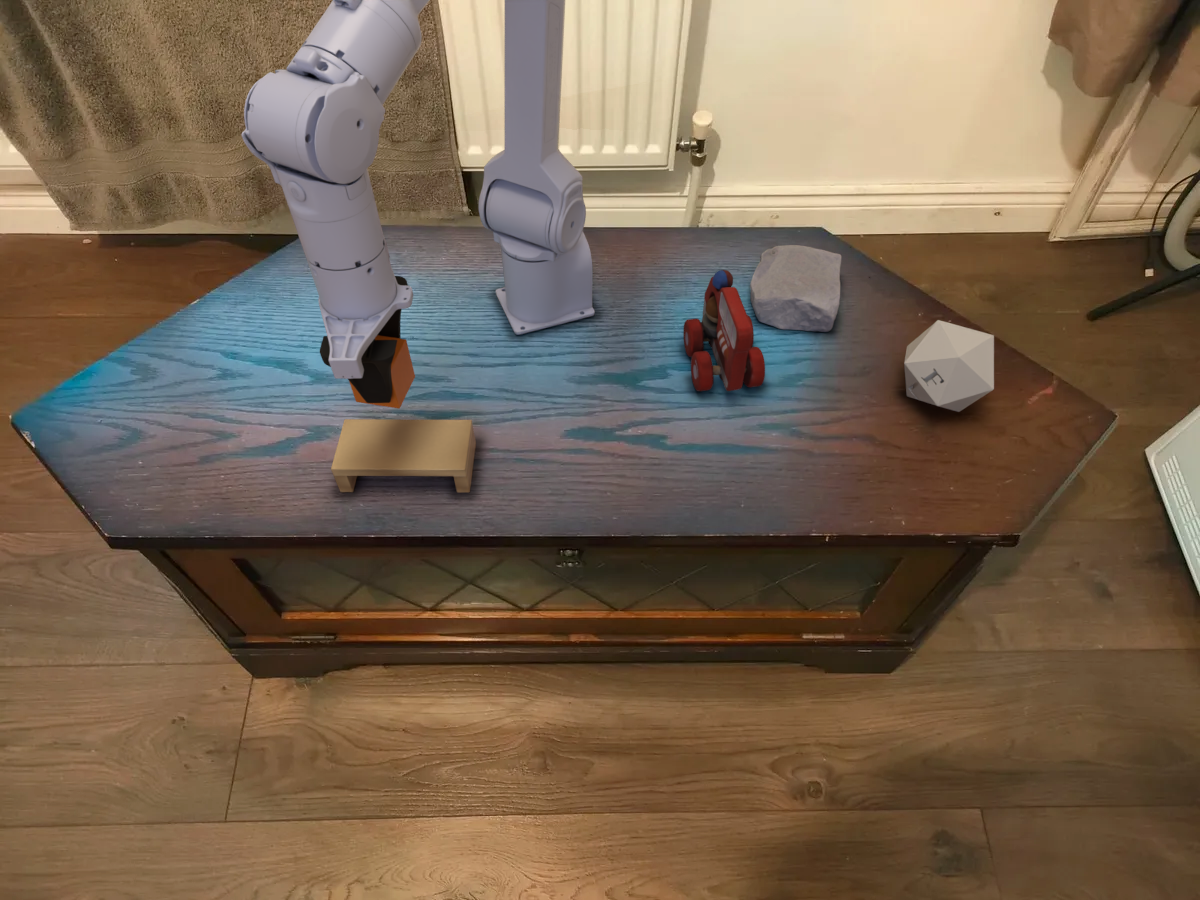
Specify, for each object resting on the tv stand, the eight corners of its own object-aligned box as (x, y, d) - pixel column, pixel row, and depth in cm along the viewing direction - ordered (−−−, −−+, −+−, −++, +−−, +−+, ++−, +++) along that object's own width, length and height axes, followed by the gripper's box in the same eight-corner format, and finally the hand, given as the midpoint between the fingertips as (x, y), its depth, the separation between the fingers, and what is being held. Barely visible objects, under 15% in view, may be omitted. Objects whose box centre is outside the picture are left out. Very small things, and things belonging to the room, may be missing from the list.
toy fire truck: (738, 324, 87) (753, 246, 79) (765, 404, 79) (785, 328, 71) (677, 328, 87) (686, 250, 79) (698, 409, 79) (711, 333, 71)
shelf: (476, 443, 76) (472, 419, 73) (469, 492, 72) (465, 469, 69) (353, 442, 76) (344, 418, 73) (340, 492, 72) (330, 469, 69)
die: (878, 368, 84) (889, 349, 74) (951, 318, 83) (972, 293, 73) (927, 432, 82) (946, 421, 73) (1002, 382, 81) (1031, 365, 71)
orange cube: (373, 370, 69) (361, 332, 66) (415, 376, 69) (406, 338, 65) (355, 402, 67) (342, 364, 63) (399, 409, 66) (389, 371, 63)
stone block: (748, 336, 88) (839, 335, 86) (746, 302, 85) (841, 300, 82) (756, 275, 96) (840, 273, 93) (754, 242, 93) (841, 238, 90)
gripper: (386, 311, 52) (420, 442, 62) (412, 190, 61) (438, 321, 71) (279, 312, 52) (331, 443, 62) (322, 190, 61) (361, 322, 71)
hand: (383, 378), depth 67 cm, fingers closed on orange cube, 4 cm apart
